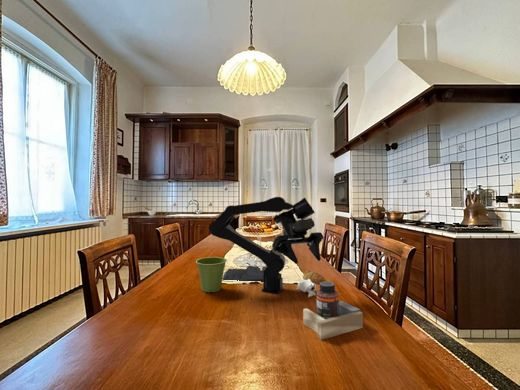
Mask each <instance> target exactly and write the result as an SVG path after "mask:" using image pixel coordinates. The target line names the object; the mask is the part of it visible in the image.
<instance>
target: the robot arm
mask: <svg viewBox="0 0 520 390" xmlns="http://www.w3.org/2000/svg"><path fill="white" fill-rule="evenodd" d="M282 211H283V212H282ZM257 212H259V213H260V212H266V213H279V214H275V215H274V217H273V219H272V221H273V222H275V223H276V224H277V225H279V224H280V225H281V227H282V229H283V233H282V234H280V235H279V234H277V235H276V237H275V238H274V240H273V242H272V245H271V247H272V248H271V249H267V248H265V247H263V246H261V245H260V244H259V243H256V242H255V241H253V240H251V239H250V238H247V237H246V236H244V235H243V234H240V233H239V232H237V231H236V230H235V229H234V227H232V225H230V224H231V222H232V220H233V219H234V217H235V216H236V215H241V214H242V215H244V214H249V213H251V214H252V213H257ZM315 213H316V212H315V211H314V209H313V207H312V205H311V204H310V203H309V201H308V200H307V198H306V197H303V198H301V199H300V200H299V201H298V202H296V203H294V204H292V203H289V202H287V201H286V199H285V198H284V197H282V196H275V197H272V198H269V199H265V200H262V201H259V202H250V203H245V204H243V203H242V204H236V205H233V204H232V205H228V206H226V207H225V209H224V210H223V212H222V213H220V215H219V216H218V217H217V218H216V220H214V221H212V222H210V224H209V227H208V229H209V233H210V234H211V235H212V236H214V237H215V238H219V239H223V240H227V241H229V242H231V243H233V244H234V245H235V246H238V247H240V248H241V249H242V250H244V251H246V252H248V253H250V254H252V255H253V256H254V257H256V258H258V259H260V260H261V261H262V263H263V264H264V266H265V269H264V270H263V273H264V274H263V282H262V283H263V285H262V286H263V288H262V289H261V292H266V293H269V294H270V293H272V294H279V293H280V292H281V291H283V290H284V287H283V286H284V281H283V276H282V273H280V272H281V271H283V269H285V265H286V258H288V259H289V260H290V261H291V262H293V263H294V264H295V265H298V264H299V260H298V258H297V255H296V254H295V252H294V248H293V247H292V245H301V244H306V245H307V247H308V250H309V251H310V252H311V253H312V255H313V256H314V258H315V259H316V260H317V261H318V262H321V259H322V258H321V251H320V244H321V242H322V241H323V240H324V238H325V237H324V235H323V233H322V232H320V231H318V232H317V231H316V232H311V233H310V235H309V236H307V235H308V231H309V230H312V229H313V228H314V227H315V221H314V220H313V219H312V217H310V216H312V215H313V214H315ZM309 217H310V218H309Z"/></svg>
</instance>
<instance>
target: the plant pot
mask: <svg viewBox="0 0 520 390" xmlns="http://www.w3.org/2000/svg"><path fill="white" fill-rule="evenodd" d="M227 261H228V259H227V258H224V257H221V256H220V257H219V256H209V257H202V258H198V259H196V261H195V263H196V265H197V266H196V267H197V269H198V272H199V273H198V274H199V279H200V287H201V291H202V292H204V293H207V292H208V293H211V292H212V293H216V292H217V293H218V292H219V291H221V290H222V285H223V284H222V283H223V276H224V273H225V267H226V263H227Z"/></svg>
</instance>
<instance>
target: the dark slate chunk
mask: <svg viewBox="0 0 520 390" xmlns="http://www.w3.org/2000/svg"><path fill="white" fill-rule="evenodd" d="M265 267H266V265H264V266H262V267H261V268H260V266H257V265H255V266H253V265H248V266H246V268H228V269H227V270H226V271H224V273H223V279H222V281H223V280H237V281H238V280H239V281H261V282H260V283H263V274H264V273H263V270H264V269H265Z"/></svg>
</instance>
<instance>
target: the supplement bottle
mask: <svg viewBox="0 0 520 390" xmlns="http://www.w3.org/2000/svg"><path fill="white" fill-rule="evenodd" d="M335 286H336V285H335V283H334V282H331V281H325V282H321V283H320V284H319V289H318V290H317V291H316V314H317V315H319V316H321V317H322V318H324V319H330V318H334V317H338V316H339V301H340V300H339V299H340V298H339V292H338V291H336V287H335Z"/></svg>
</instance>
